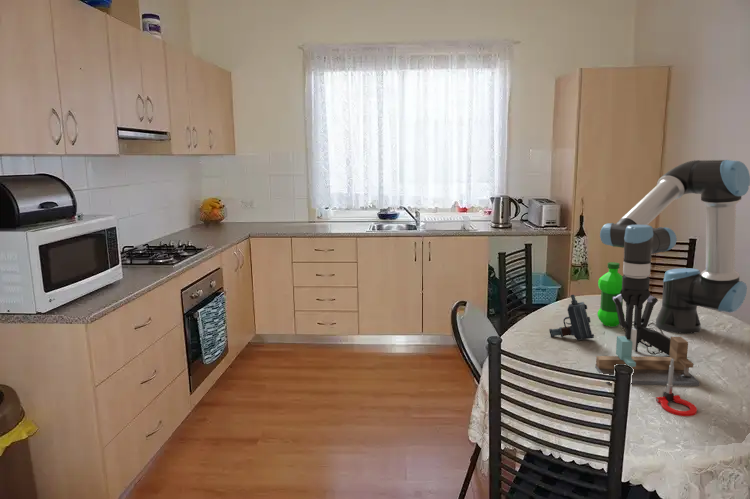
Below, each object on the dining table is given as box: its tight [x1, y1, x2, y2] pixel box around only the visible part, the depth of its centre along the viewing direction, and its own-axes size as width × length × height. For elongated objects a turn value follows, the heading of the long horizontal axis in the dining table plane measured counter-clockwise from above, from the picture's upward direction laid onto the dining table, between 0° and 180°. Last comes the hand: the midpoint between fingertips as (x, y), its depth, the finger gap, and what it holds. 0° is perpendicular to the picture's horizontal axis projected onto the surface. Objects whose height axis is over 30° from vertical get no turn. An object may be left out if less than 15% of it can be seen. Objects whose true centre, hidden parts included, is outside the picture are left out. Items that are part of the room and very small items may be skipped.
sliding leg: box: [615, 335, 636, 367], centre depth 163 cm, size 3×10×9 cm, turn 173°
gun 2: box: [634, 327, 671, 357], centre depth 178 cm, size 3×16×10 cm, turn 58°
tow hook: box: [655, 358, 698, 417], centre depth 141 cm, size 8×13×9 cm
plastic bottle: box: [597, 261, 626, 328], centre depth 207 cm, size 10×10×25 cm
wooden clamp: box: [595, 336, 694, 376], centre depth 163 cm, size 26×10×9 cm, turn 83°
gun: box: [548, 294, 595, 341], centre depth 195 cm, size 3×17×15 cm
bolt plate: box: [595, 364, 700, 387], centre depth 162 cm, size 26×12×1 cm, turn 83°
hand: (631, 348), depth 165 cm, fingers closed
